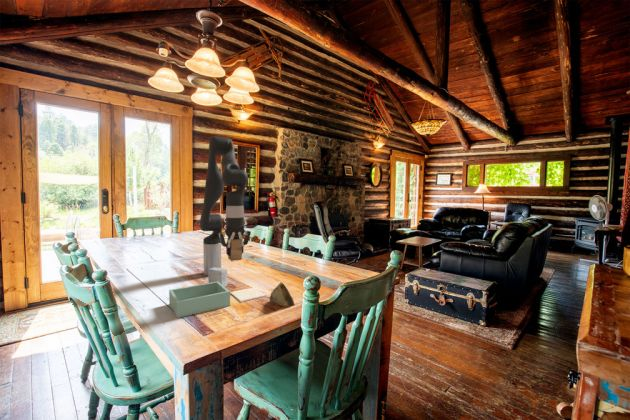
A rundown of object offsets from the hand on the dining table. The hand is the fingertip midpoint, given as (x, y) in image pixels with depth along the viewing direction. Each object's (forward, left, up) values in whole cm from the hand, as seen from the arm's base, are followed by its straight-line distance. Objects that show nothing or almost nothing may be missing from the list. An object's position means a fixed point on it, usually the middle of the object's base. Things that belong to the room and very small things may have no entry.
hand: (234, 254), depth 124 cm
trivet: (0, +6, -19) cm, 20 cm away
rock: (+16, +14, -20) cm, 29 cm away
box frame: (0, -15, -19) cm, 24 cm away
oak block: (0, 0, -2) cm, 2 cm away
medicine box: (-18, -2, -19) cm, 26 cm away
